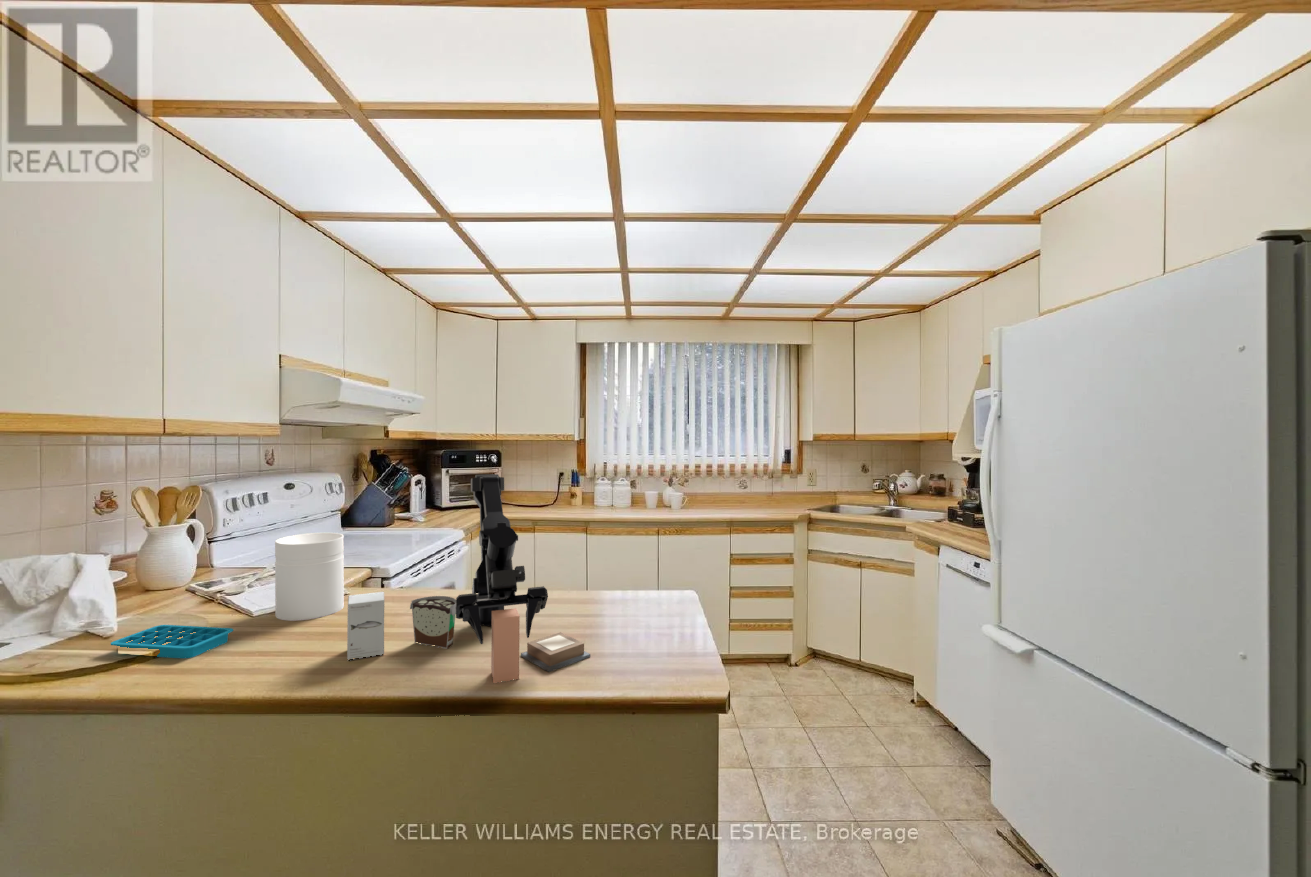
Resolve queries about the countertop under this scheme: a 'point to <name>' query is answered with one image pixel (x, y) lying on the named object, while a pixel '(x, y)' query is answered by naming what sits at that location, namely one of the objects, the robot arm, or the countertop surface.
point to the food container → (434, 620)
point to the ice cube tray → (177, 640)
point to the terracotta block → (505, 645)
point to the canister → (309, 576)
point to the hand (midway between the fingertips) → (505, 640)
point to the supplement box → (365, 625)
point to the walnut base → (555, 651)
